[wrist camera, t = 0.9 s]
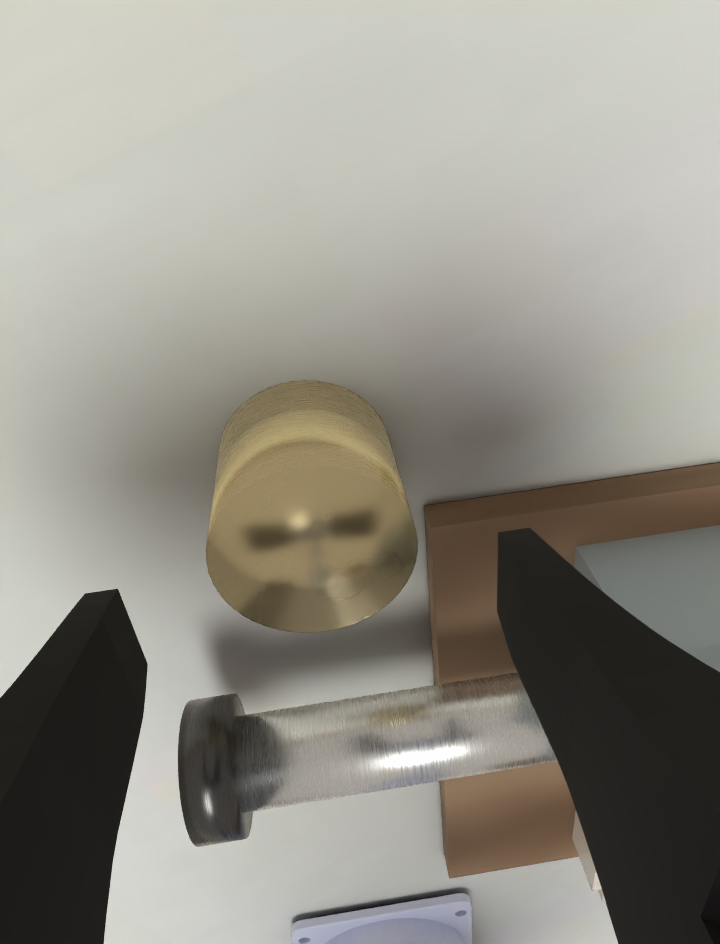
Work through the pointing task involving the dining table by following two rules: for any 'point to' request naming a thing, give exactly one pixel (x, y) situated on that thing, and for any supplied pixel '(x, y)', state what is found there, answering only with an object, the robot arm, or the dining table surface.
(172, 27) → the dining table surface
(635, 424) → the dining table surface
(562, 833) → the walnut board
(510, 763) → the shaft
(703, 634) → the block
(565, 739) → the robot arm
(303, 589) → the cylinder
